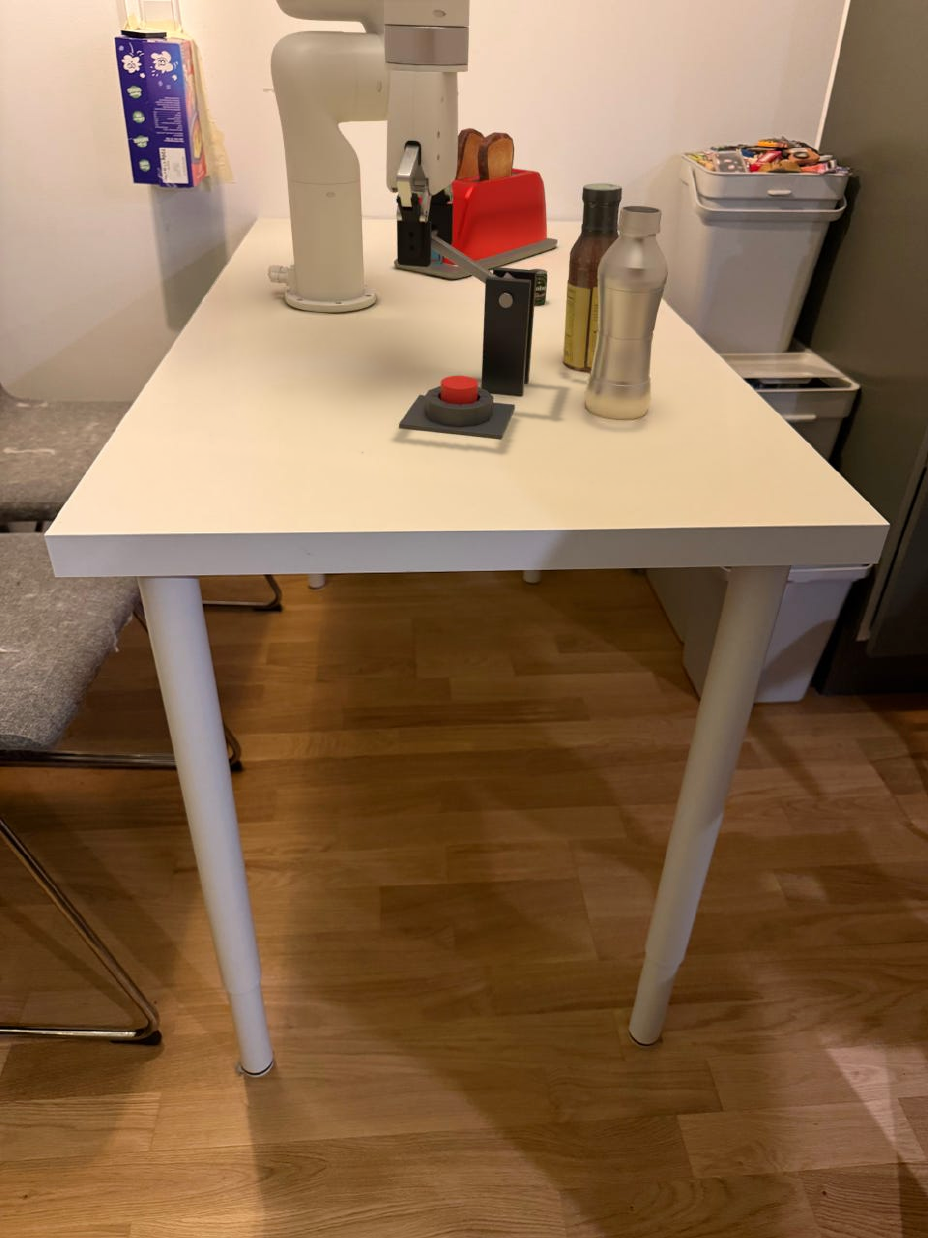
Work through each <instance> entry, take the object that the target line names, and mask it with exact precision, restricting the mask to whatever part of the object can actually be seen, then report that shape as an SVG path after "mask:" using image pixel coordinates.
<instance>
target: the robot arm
mask: <svg viewBox="0 0 928 1238" xmlns="http://www.w3.org/2000/svg"><path fill="white" fill-rule="evenodd" d="M275 1H276V3H277V6H278V7H279V9H280V10H281V11H282V12H283V14H284V15H287V16H288V17H291V18H294V19H297V20H298V19H299V20H303V21H315V22H316V21H319V22H352V23H360V24H361V25H362V27H363V29H364V31H365V32H362V31H361V32H358V31H357V32H356V31H355V32H354V31H353V32H352V31H341V30H340V31H337V30H304V31H303V30H302V31H296V32H291V33H288V34H286V35H285V36H282V38H280V39H279V40H278V41H277V42H276V43H275V45H274V46H273V48H272V51H271V55H270V76H271V82H272V86H273V91H274V96H275V101H276V105H277V110H278V114H279V118H280V119H279V120H280V126H281V132H282V139H283V148H284V158H285V168H286V169H285V171H286V179H287V192H288V194H287V195H288V204H289V205H288V206H289V217H290V231H291V232H290V233H291V243H292V255H293V257H292V258H293V264H290V265H289V266H283V265H275V264H269V266H268V269H267V275H268V279H269V281H270V283H274V284H286V286H288V288H287V290H286V291H285V292H284V297H285V302H286V303H287V304H288V305H289V306H290V307H293V308H295V309H298V310H302V311H306V312H307V311H308V312H314V313H346V312H352V311H357V310H362V309H366V308H369V307H370V306H372V305H373V304H374V303H375V302H376V300H377V293H376V290H374V289H373V288H372V287H370V286H368V285H366V284H365V267H364V266H365V265H364V242H363V241H364V238H363V237H364V236H363V211H362V210H363V209H362V208H363V207H362V184H361V182H362V181H361V180H362V179H361V165H360V159H359V157H358V154H357V152H356V150H355V148H354V147H353V145H352V144H351V143H350V141H349V140H348V139H347V138H346V136H345V135H344V134H343V132H342V131H341V129H340V127H339V124H340V123H349V122H386V166H385V167H386V168H385V169H386V171H385V173H386V174H385V175H386V178H385V179H386V183H385V184H386V188H387V189H388V190H389V192H390V193H392V194H396V193H397V195H396V198H395V201H396V204H397V207H396V215H395V216H396V249H397V250H396V252H397V254H396V255H397V256H396V257H397V258H396V259H397V260H398V263H399V264H400V265H406V266H419V267H428V266H429V265H430V264H431V224H435V225H436V226H437V227H438V229H439V236H438V237H439V238H440V239H442V240H443V241H445V242H446V243H448V244H449V245H451V244H452V242H453V204H447V203H452V201H453V189H452V182H453V181H454V180H455V177H456V171H457V157H458V135H459V90H458V89H459V86H458V85H459V84H458V83H459V82H458V73H465V72H468V71H469V51H470V50H469V48H470V47H469V46H470V45H469V44H470V43H469V42H470V28H469V27H470V0H275ZM419 198H422V202H421V205H420V201H419V200H420V199H419Z"/></svg>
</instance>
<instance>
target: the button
mask: <svg viewBox="0 0 928 1238" xmlns="http://www.w3.org/2000/svg"><path fill="white" fill-rule="evenodd" d="M440 386H441V401H444V402H447V403H450V404H459V405H462V404H472V403H474V402H477V398H478V387H479V381H478V380H477V379H476V378H473V377H471V376H465V375H450V376H446V377H444V378H442V379H441V381H440Z"/></svg>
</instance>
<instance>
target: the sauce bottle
mask: <svg viewBox="0 0 928 1238" xmlns="http://www.w3.org/2000/svg"><path fill="white" fill-rule="evenodd" d="M622 195H623V187H622V186H621V185H619V184H613V183H607V182H606V183H605V182H601V183H600V182H599V183H598V182H597V183H587V184H585V185H583V186H582V193H581V200H582V203H583V209H582V223H581V226H580V229H581V230H580V231H581V232H580V234H579V236H578V237H577V239H576V241H575V242H574V244H573V246H572V247H571V249H570V252H569V261H568V278H567V283H566V302H565V321H564V322H565V323H564V337H563V338H564V339H563V356H562V357H563V358H562V360H563V363H564V364H565V366H566V367H568V368H569V369H571V370H574V371H578V372H582V373H587V374H590V371H591V368H592V363H593V357H594V352H595V347H596V341H597V329H598V310H599V307H598V278H597V276H598V266H599V264H600V261H601V258H602V257H603V255H604V254H605V253H606V251H607V250H608V248H609V247H610V246H611V245H612V244H613V243H614V241H615V240H616V239H617V238H618V237H619V231H618V230H617V225H618V223H619V211H620V210H619V209H620V203H621V201H622V199H623V197H622Z"/></svg>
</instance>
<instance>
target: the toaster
mask: <svg viewBox="0 0 928 1238" xmlns="http://www.w3.org/2000/svg"><path fill="white" fill-rule="evenodd" d="M514 160H515V143H514V139H513V138H512V137H511V136H510V135H509V134H508V133H507V132H491V133H490V134H488V135H487V136H485V135H484V134H483V133H482V132H481V131H479V130H477V129H475V128H473V127H468V128H463V129H461V130H460V132H458V157H457V171H456V177H455V180H454V181H453V182H452V189H453V201H452V203H447V204H453V242H452V244H451V246H452V247H454V248H455V249H457V250H458V251H460V252H461V253H463V254H464V255H466V256H467V257H469V258H470V259H472V260H473V261H475V262H476V263H478V264H479V265H481V266H482V267H484V268H485V269H487V270H488V271H489V270H491V269H494V268H495V267H501V266H503V265H507V264H510V263H513V262H516V261H519V260H522V259H526V258H528V257H531V256H534V255H537V254H540V253H544V252H546V251H550V250H551V249H554V248H556V247H557V246H558V243H559V241H558V239H557V238H551V237H548V221H547V220H548V219H547V218H548V217H547V202H546V201H547V199H546V189H545V183H544V180H543V178H542V175H541V173H540V172H538V171H535V170H529V169H521V168H514ZM419 199H420V200H419V201H420V205H421V202H422V198H419ZM393 264H394V267H396V268H398V269H401V270H407V271H412V272H415V273H420V274H425V275H429V276H433V277H435V276H436V277H439V278H443V279H444V278H445V279H449V280H455V279H461V278H465V277H469V276H472V275H471V274H470V273H468V272H467V271H465V270H464V269H462V268H461V267H459V266H457V265H456V264H454V263H453V262H451V261H450V260H448V259H447V258H445V257H444V256H442V255H441V254H439V253H438V252H436V251H435V250H433V249H432V248H431V264H430V265H429V266H428V267H419V266H406V265H400V264H399V263H398V260H397V258H396V259H395V260H394V261H393Z"/></svg>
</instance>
